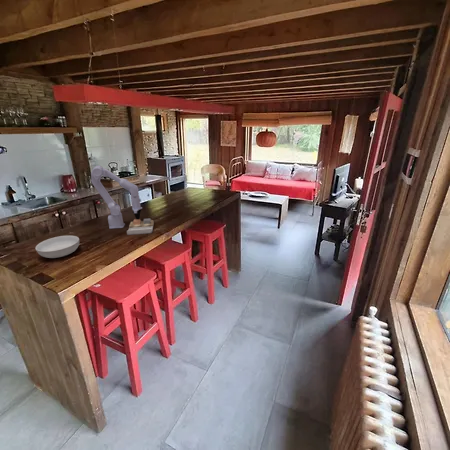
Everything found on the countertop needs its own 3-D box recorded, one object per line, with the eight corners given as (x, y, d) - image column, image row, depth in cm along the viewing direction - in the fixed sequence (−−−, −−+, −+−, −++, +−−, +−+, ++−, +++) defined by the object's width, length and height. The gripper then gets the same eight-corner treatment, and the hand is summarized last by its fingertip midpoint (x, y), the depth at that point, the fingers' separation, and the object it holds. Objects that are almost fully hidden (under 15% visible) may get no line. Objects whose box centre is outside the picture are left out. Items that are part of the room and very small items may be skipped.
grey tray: (127, 234, 169) (126, 230, 168) (129, 230, 177) (128, 226, 176) (152, 233, 172) (151, 228, 171) (152, 228, 180) (152, 224, 179)
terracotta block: (133, 224, 180) (133, 221, 179) (134, 222, 184) (134, 219, 183) (140, 224, 180) (139, 221, 180) (140, 222, 185) (140, 219, 184)
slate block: (143, 224, 181) (143, 220, 180) (144, 222, 185) (144, 218, 184) (150, 223, 182) (149, 220, 181) (150, 221, 186) (150, 218, 185)
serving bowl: (35, 253, 144) (31, 242, 142) (75, 242, 158) (73, 232, 155) (43, 266, 130) (39, 254, 128) (86, 253, 144) (84, 242, 141)
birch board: (129, 229, 177) (129, 226, 177) (131, 224, 187) (131, 221, 186) (153, 228, 180) (152, 224, 179) (153, 223, 190) (153, 220, 189)
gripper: (140, 204, 176) (142, 222, 181) (142, 199, 190) (144, 216, 195) (129, 204, 175) (132, 223, 180) (132, 199, 188) (135, 216, 193)
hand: (138, 219), depth 187 cm, fingers closed
